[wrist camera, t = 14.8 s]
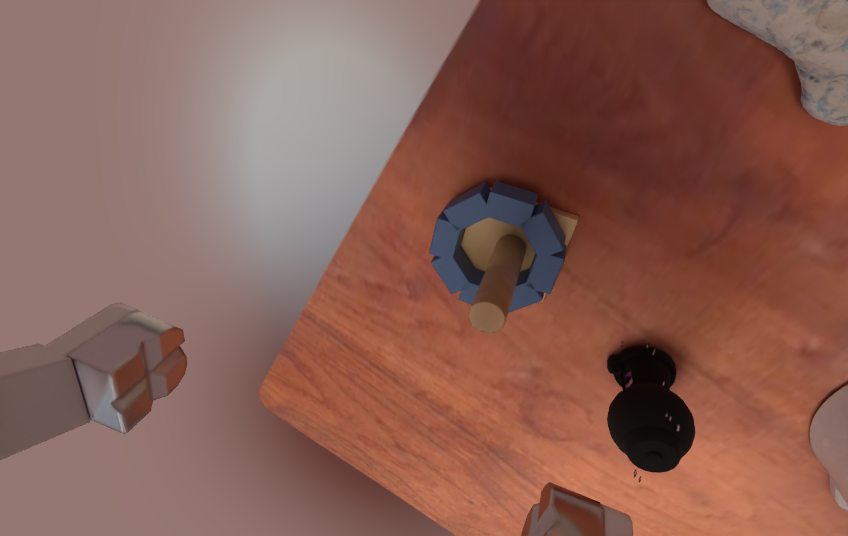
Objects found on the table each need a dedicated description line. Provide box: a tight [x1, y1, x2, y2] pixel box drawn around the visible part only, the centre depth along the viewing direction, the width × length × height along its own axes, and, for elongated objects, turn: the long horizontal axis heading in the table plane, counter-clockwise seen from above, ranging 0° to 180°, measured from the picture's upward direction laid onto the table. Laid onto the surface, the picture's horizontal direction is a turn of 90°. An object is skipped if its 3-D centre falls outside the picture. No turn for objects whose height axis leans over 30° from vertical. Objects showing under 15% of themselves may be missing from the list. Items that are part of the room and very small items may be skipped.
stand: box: [461, 184, 579, 333], centre depth 34 cm, size 8×8×11 cm
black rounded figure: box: [607, 342, 695, 483], centre depth 36 cm, size 7×6×10 cm
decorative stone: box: [707, 0, 848, 126], centre depth 25 cm, size 13×7×5 cm, turn 63°
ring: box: [429, 181, 566, 312], centre depth 37 cm, size 10×10×2 cm
